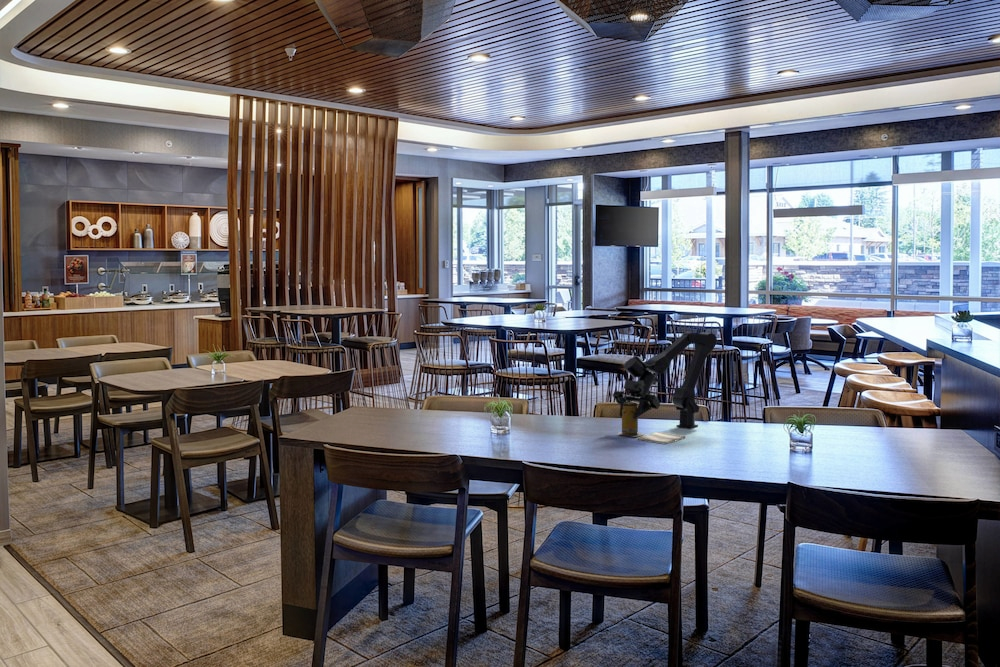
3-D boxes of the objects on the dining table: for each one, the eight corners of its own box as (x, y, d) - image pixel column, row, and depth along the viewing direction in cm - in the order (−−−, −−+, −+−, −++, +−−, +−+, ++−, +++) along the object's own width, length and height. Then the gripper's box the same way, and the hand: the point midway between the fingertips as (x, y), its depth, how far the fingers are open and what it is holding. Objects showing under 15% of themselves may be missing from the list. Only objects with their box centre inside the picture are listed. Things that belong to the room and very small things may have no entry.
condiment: (628, 431, 309) (629, 400, 308) (646, 434, 303) (646, 403, 302) (616, 434, 305) (616, 403, 304) (633, 437, 298) (633, 406, 297)
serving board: (657, 433, 306) (657, 431, 306) (685, 438, 298) (685, 435, 298) (637, 439, 296) (637, 437, 296) (665, 444, 288) (665, 442, 287)
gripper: (615, 370, 312) (598, 401, 305) (655, 374, 299) (639, 407, 292) (626, 387, 318) (610, 419, 311) (667, 392, 305) (651, 424, 298)
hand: (627, 417), depth 303 cm, fingers closed on condiment, 6 cm apart
